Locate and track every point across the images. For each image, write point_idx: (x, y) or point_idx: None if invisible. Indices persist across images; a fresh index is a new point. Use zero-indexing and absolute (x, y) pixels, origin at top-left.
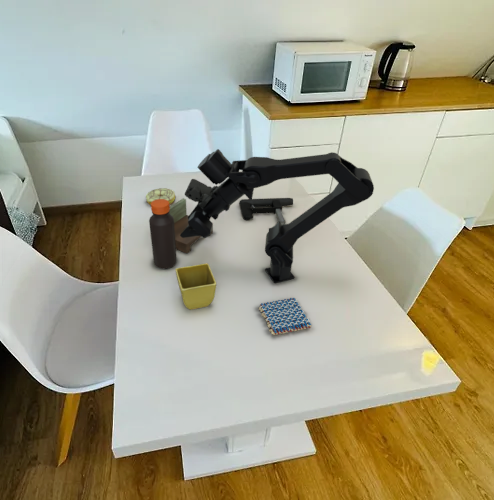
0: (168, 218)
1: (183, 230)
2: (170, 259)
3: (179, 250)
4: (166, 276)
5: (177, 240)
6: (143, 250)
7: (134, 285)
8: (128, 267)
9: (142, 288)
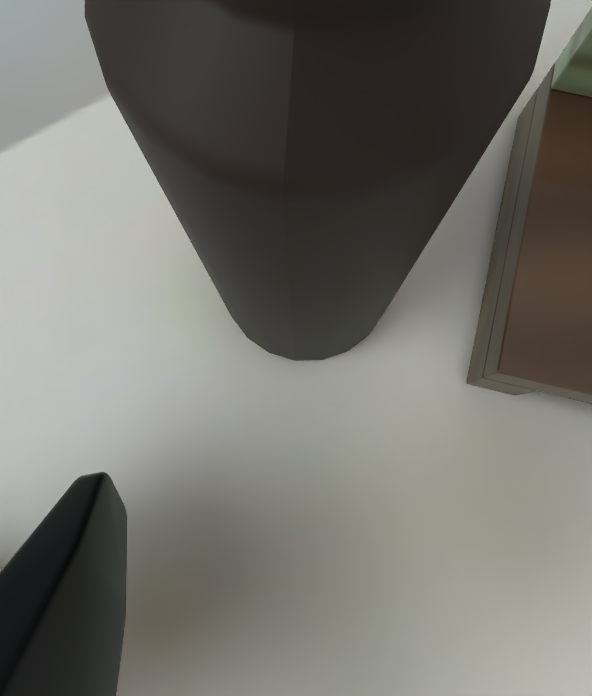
0: (278, 79)
1: (57, 563)
2: (254, 332)
3: (480, 312)
4: (165, 358)
5: (518, 272)
6: None
7: (16, 207)
8: None
9: (3, 268)
